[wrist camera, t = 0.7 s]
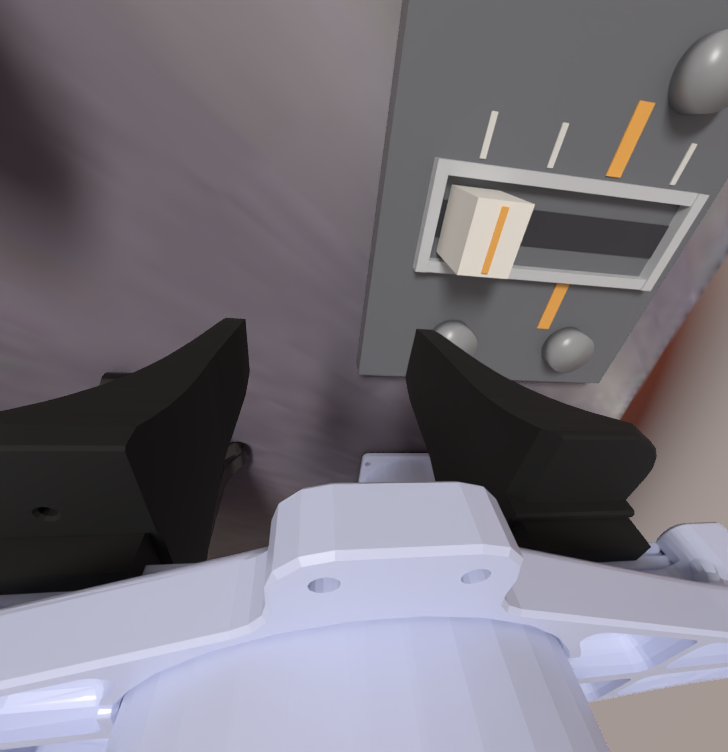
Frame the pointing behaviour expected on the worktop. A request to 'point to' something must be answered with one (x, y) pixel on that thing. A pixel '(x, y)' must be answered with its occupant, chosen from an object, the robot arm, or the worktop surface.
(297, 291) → the worktop surface
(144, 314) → the worktop surface
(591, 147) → the console panel
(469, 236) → the fader tab
